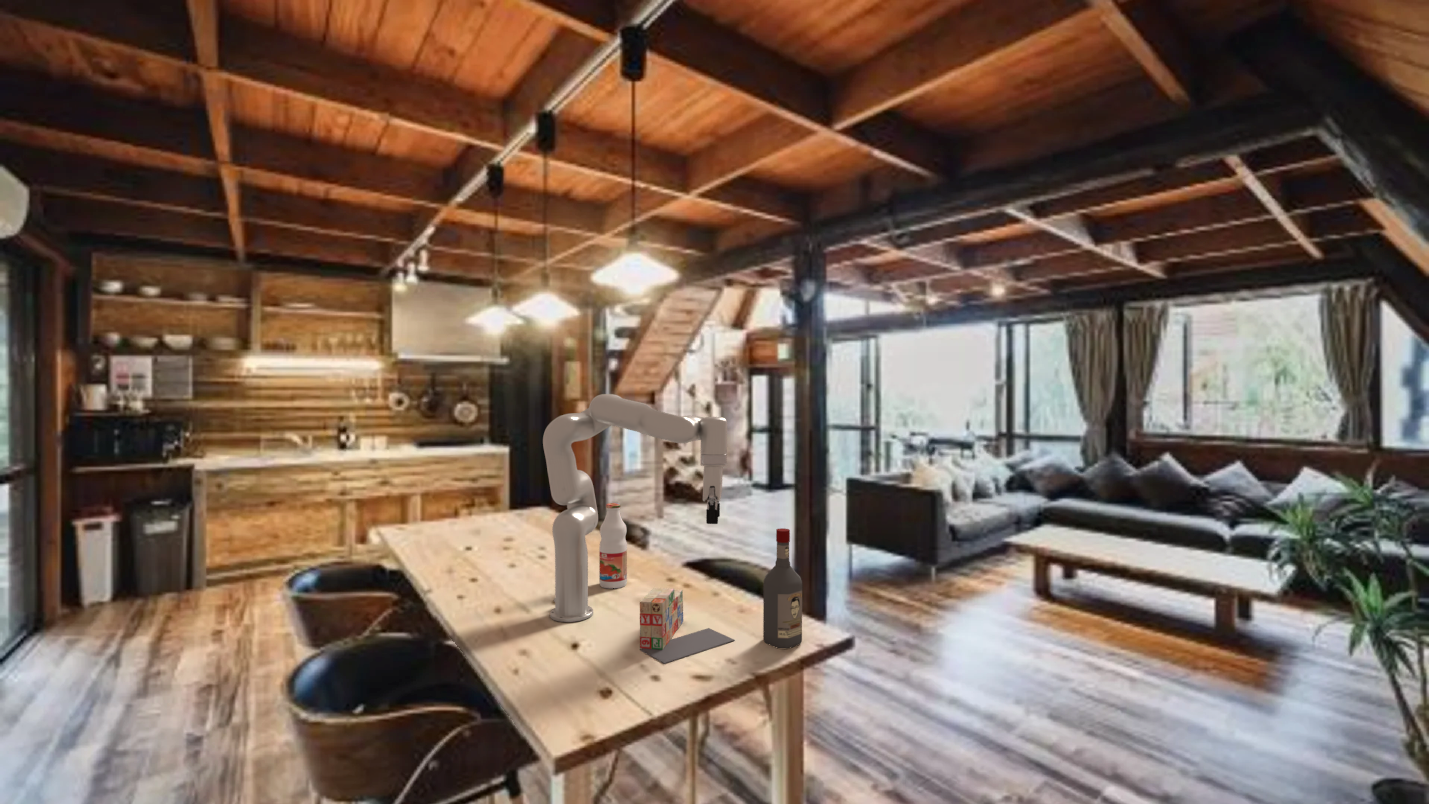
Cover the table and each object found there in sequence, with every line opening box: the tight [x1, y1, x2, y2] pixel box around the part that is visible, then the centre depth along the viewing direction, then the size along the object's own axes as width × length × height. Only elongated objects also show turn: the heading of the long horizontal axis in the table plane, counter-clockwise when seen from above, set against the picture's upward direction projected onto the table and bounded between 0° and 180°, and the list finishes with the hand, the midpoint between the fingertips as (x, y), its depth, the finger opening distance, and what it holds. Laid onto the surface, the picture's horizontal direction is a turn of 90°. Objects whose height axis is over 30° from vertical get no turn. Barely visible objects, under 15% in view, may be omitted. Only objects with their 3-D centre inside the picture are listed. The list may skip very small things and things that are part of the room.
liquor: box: [762, 527, 803, 649], centre depth 170 cm, size 9×9×30 cm
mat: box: [639, 627, 736, 665], centre depth 168 cm, size 11×23×1 cm, turn 130°
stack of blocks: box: [639, 587, 684, 650], centre depth 175 cm, size 21×6×12 cm, turn 168°
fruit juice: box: [598, 502, 628, 589], centre depth 220 cm, size 9×9×28 cm
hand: (713, 520), depth 182 cm, fingers open, 9 cm apart
